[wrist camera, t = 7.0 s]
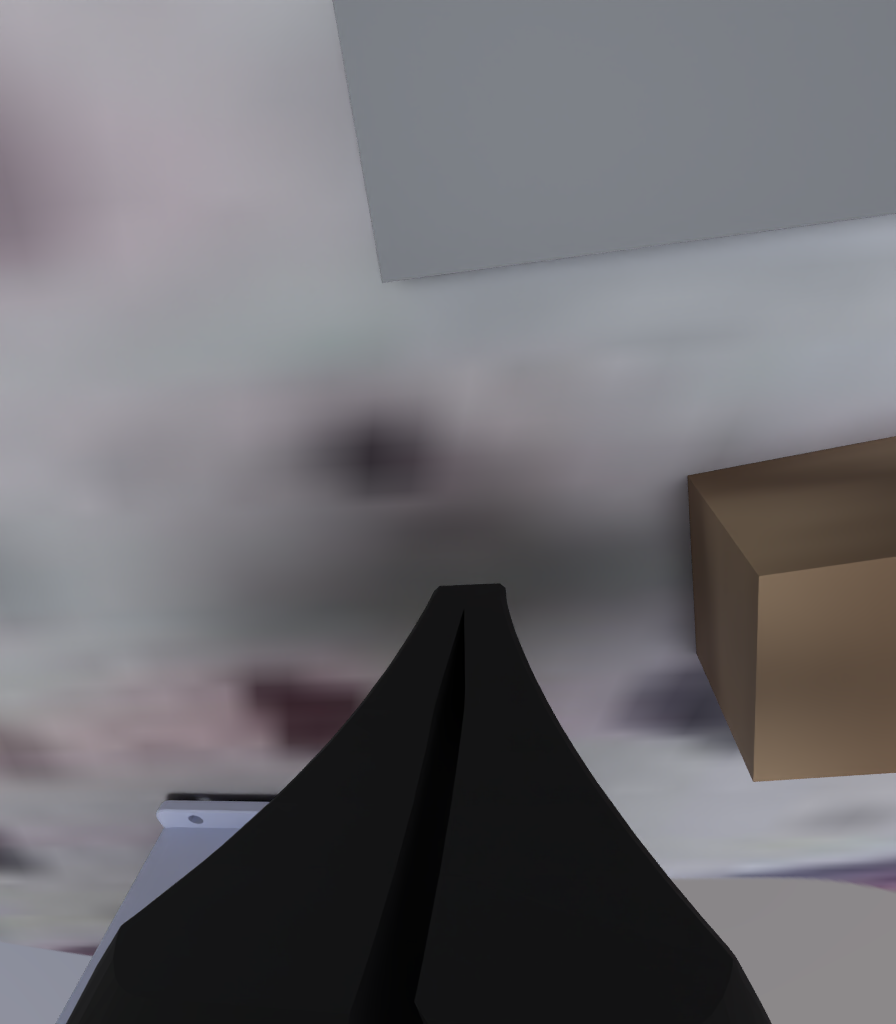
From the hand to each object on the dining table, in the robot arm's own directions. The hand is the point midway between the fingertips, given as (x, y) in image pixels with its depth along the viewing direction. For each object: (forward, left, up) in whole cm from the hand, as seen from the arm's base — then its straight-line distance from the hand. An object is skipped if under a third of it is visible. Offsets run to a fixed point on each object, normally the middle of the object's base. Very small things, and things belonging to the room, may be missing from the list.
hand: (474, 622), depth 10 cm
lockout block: (+7, 0, -2) cm, 8 cm away
